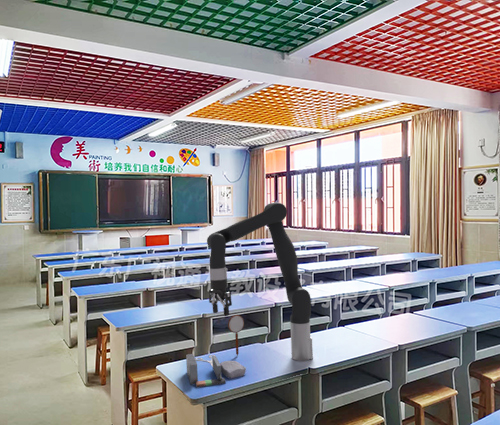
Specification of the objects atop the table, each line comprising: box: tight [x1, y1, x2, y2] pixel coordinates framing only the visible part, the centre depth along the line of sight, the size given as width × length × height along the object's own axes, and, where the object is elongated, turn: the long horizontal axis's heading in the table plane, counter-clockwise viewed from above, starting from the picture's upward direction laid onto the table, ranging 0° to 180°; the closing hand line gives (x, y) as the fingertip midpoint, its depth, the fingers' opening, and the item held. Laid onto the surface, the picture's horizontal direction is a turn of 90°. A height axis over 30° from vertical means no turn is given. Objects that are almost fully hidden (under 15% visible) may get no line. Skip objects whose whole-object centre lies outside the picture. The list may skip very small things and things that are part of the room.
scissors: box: [195, 354, 216, 368], centre depth 195 cm, size 11×1×20 cm
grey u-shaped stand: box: [185, 353, 226, 388], centre depth 176 cm, size 14×18×8 cm
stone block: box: [219, 360, 247, 380], centre depth 181 cm, size 12×5×10 cm
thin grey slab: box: [211, 355, 223, 380], centre depth 177 cm, size 2×18×6 cm, turn 15°
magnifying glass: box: [227, 314, 245, 357], centre depth 202 cm, size 9×2×20 cm, turn 117°
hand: (220, 314), depth 184 cm, fingers open, 8 cm apart
